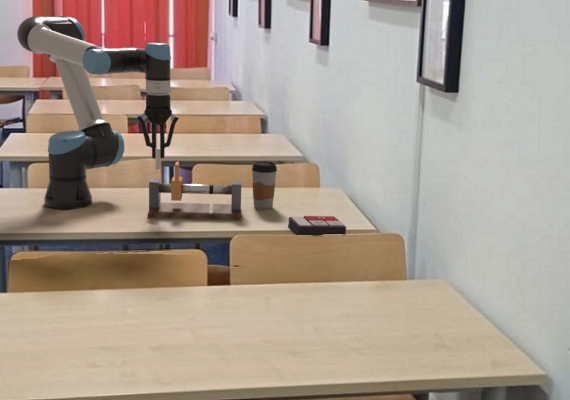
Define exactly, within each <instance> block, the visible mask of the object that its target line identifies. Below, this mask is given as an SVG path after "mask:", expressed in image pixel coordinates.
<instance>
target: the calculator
mask: <svg viewBox="0 0 570 400" xmlns="http://www.w3.org/2000/svg"><path fill="white" fill-rule="evenodd" d="M287 228H288V229H289V230H290V232H292V233H293V234H294V235H295V234H296V235H323V234H345V235H346V232H347V226H345V224H344V223H343V222H342V221H340V220H339V219H338V218H337V217H335V216H332V215H331V216H330V215H327V216H325V215H304V216H300V215H299V216H298V215H297V216H295V215H291V216H289V217H288V225H287ZM296 235H295V236H296Z"/></svg>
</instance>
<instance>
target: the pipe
mask: <svg viewBox="0 0 570 400" xmlns="http://www.w3.org/2000/svg"><path fill="white" fill-rule="evenodd" d="M181 193H182V194H190V195H191V194H194V195H195V194H197V195H198V194H199V195H226V196H227V195H229V196H230V195H231V203H230V204H231V212H241V213H242V211H241V209H242V180H237V179H235V180H233V179H232V180H231V184H202V183H201V184H199V183H198V184H197V183H194V184H193V183H190V184H189V183H182V184H181ZM161 194H171V183H163V182H161V178H159V177H158V178H157V177H156V178H155V177H151V178H150V179H149V181H148V211H149V210H159V208H160V203H161Z"/></svg>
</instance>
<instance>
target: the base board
mask: <svg viewBox="0 0 570 400" xmlns="http://www.w3.org/2000/svg"><path fill="white" fill-rule="evenodd" d="M241 215H242V211H241V212H231V203H228V204H227V203H225V204H224V203H199V202H198V203H197V202H196V203H192V202H191V203H189V202H160V208H159V210H149V209H148V211H147V218H148V219H179V220H180V219H181V220H182V219H183V220H184V219H187V220H219V221H221V220H222V221H223V220H224V221H225V220H226V221H227V220H229V221H241V220H242V219H241Z"/></svg>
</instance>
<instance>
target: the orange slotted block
mask: <svg viewBox="0 0 570 400" xmlns="http://www.w3.org/2000/svg"><path fill="white" fill-rule="evenodd" d="M170 184H171V193H170V195H171V196H170V197H171V198H170V200H171V202H172V201H173V202H174V201H175V202H180V201H182V199H183V193H181V184H183V176H180V161H175V164H174V176H172V179H171V183H170Z"/></svg>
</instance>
